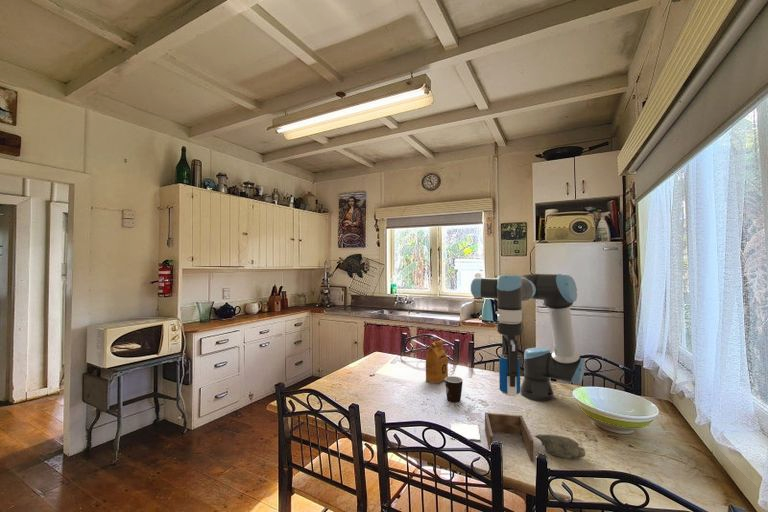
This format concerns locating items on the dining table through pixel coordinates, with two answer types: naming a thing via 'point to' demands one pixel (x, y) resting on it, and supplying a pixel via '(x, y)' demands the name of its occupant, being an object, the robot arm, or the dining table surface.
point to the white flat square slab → (466, 430)
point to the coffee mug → (453, 388)
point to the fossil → (561, 446)
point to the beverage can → (504, 370)
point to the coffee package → (436, 363)
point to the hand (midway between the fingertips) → (509, 391)
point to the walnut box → (508, 429)
